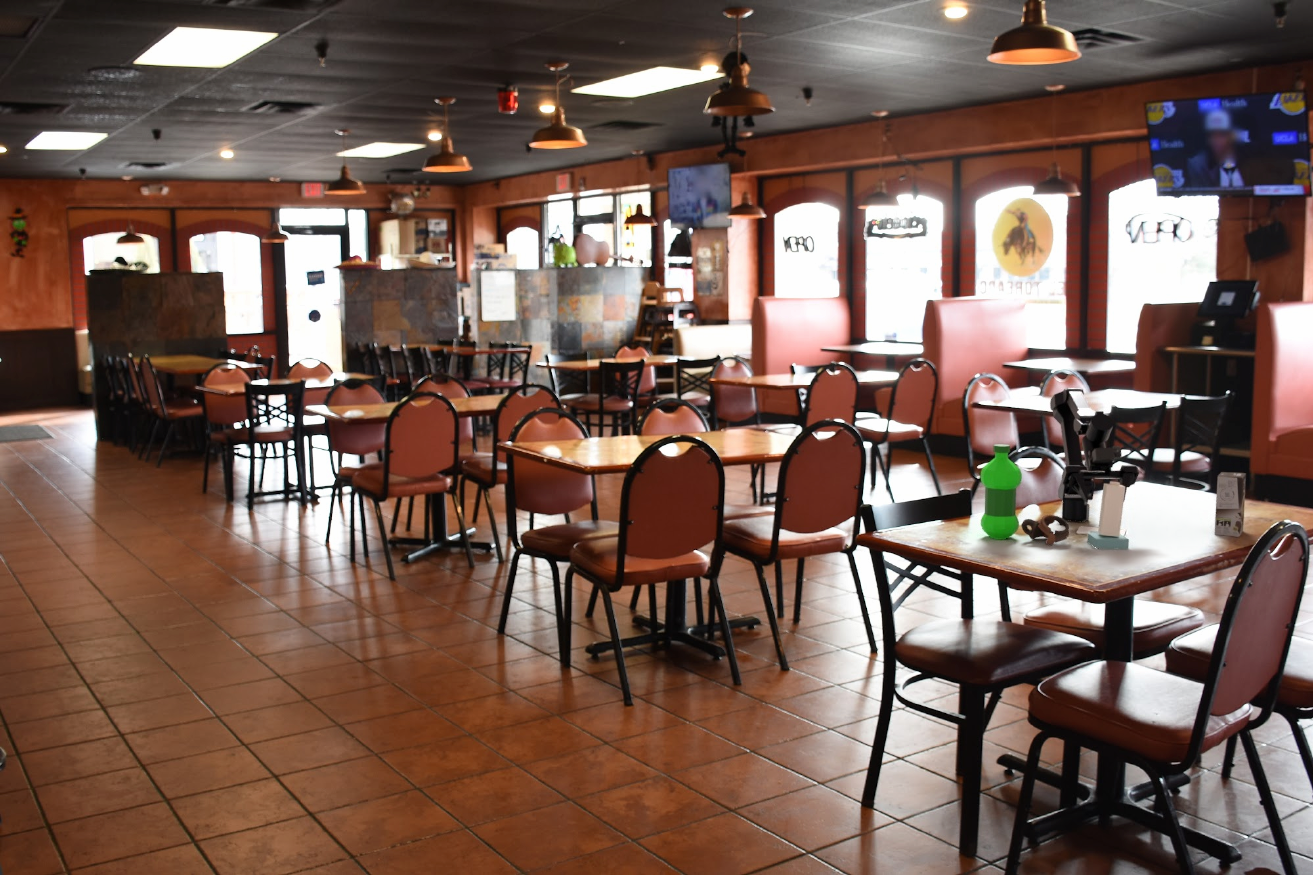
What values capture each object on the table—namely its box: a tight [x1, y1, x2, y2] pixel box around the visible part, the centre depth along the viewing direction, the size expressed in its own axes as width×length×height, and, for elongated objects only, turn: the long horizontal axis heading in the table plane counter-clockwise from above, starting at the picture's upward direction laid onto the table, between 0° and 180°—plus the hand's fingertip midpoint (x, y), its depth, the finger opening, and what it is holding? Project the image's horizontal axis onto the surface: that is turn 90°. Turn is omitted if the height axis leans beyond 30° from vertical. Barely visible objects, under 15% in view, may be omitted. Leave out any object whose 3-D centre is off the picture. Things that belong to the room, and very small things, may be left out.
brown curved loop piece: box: [1021, 514, 1070, 546], centre depth 312 cm, size 12×10×8 cm
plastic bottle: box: [980, 443, 1023, 540], centre depth 318 cm, size 10×10×25 cm
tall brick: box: [1097, 480, 1125, 537], centre depth 307 cm, size 4×4×14 cm
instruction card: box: [1076, 525, 1127, 537], centre depth 324 cm, size 12×9×1 cm
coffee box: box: [1214, 471, 1247, 538], centre depth 320 cm, size 9×6×16 cm
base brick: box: [1087, 533, 1130, 550], centre depth 308 cm, size 8×8×3 cm
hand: (1105, 501), depth 311 cm, fingers open, 9 cm apart
